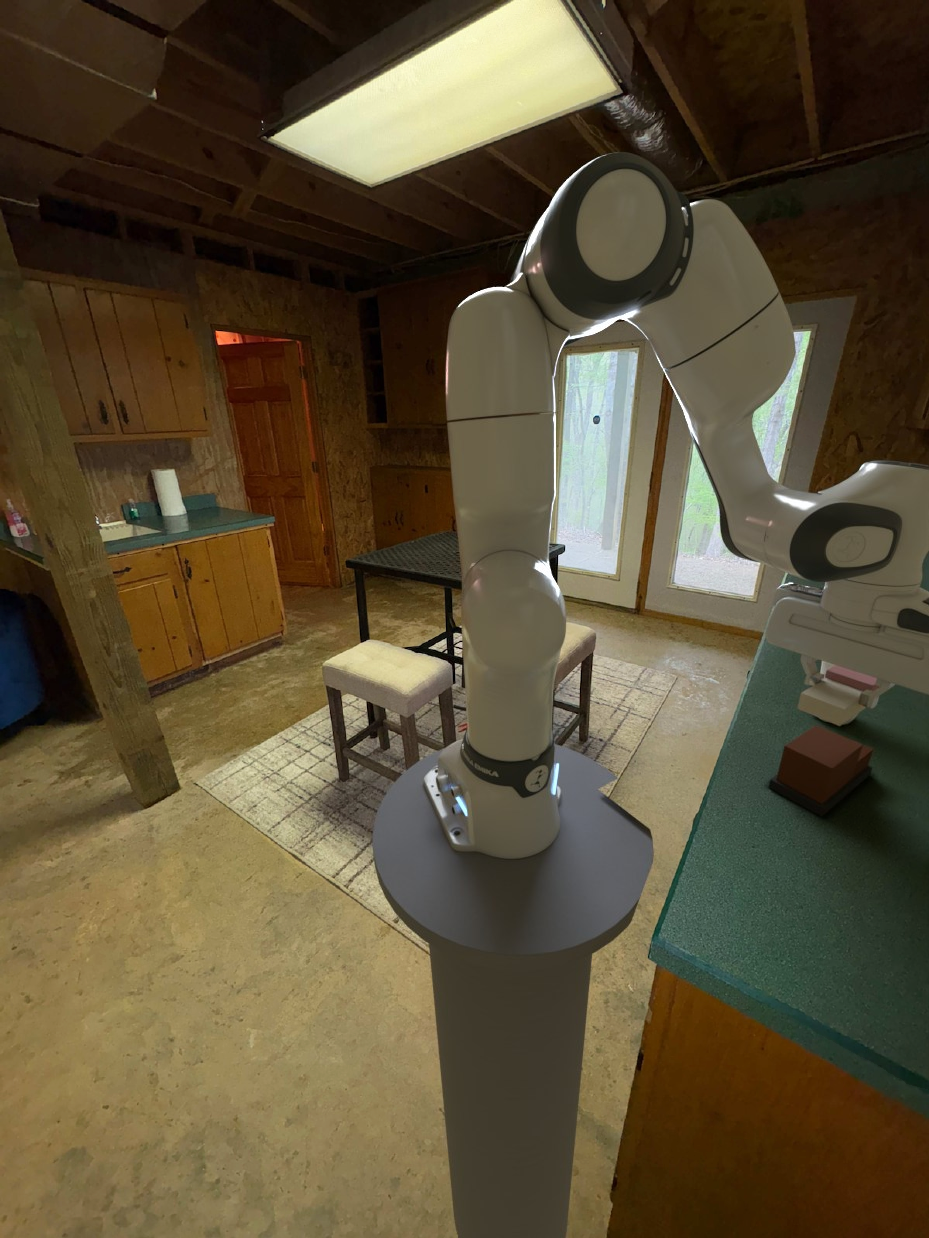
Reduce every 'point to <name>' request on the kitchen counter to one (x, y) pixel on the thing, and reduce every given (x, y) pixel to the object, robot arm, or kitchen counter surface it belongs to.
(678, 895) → the kitchen counter surface
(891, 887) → the kitchen counter surface
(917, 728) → the kitchen counter surface
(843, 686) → the cream rectangular block
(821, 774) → the brown block on base
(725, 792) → the kitchen counter surface
